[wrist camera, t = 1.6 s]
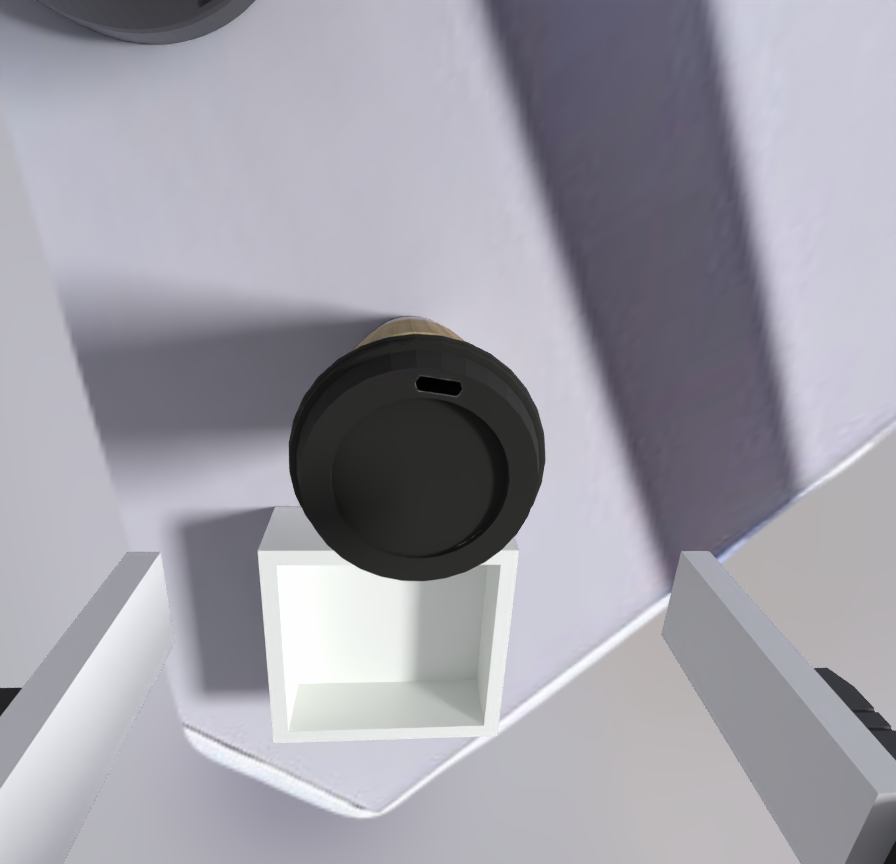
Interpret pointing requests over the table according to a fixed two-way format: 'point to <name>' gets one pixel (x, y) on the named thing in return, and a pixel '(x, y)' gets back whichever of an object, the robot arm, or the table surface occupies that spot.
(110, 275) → the table surface
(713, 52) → the table surface
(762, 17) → the table surface
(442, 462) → the coffee cup
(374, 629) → the bin
